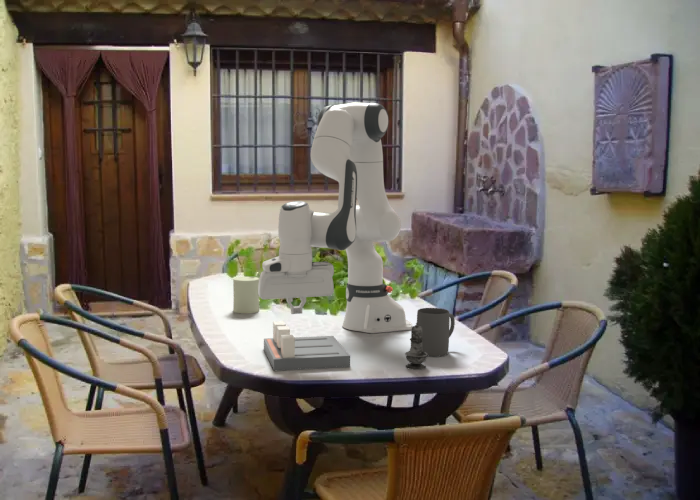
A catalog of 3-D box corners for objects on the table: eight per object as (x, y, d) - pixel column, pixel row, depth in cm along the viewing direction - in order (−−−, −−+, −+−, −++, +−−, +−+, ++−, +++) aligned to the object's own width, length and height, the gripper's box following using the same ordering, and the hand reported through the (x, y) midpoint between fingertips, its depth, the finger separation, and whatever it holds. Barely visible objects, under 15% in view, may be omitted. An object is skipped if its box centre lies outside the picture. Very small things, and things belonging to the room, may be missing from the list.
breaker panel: (332, 345, 217) (333, 318, 216) (350, 366, 196) (350, 336, 195) (263, 348, 213) (263, 321, 212) (273, 370, 191) (273, 340, 190)
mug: (433, 358, 205) (434, 315, 204) (409, 352, 212) (410, 310, 210) (465, 350, 214) (466, 309, 213) (441, 344, 221) (442, 304, 219)
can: (264, 310, 265) (264, 276, 264) (247, 314, 257) (247, 280, 256) (244, 307, 270) (244, 274, 269) (227, 311, 262) (227, 277, 261)
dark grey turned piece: (403, 364, 200) (404, 319, 198) (424, 363, 200) (426, 319, 199) (406, 370, 194) (407, 324, 192) (429, 370, 194) (430, 324, 193)
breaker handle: (287, 343, 205) (287, 325, 204) (289, 347, 201) (289, 329, 200) (276, 344, 204) (276, 326, 203) (278, 348, 200) (278, 329, 200)
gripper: (331, 259, 206) (331, 308, 208) (256, 262, 201) (257, 313, 203) (336, 262, 200) (336, 313, 202) (259, 266, 195) (260, 318, 197)
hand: (296, 313), depth 202 cm, fingers closed
